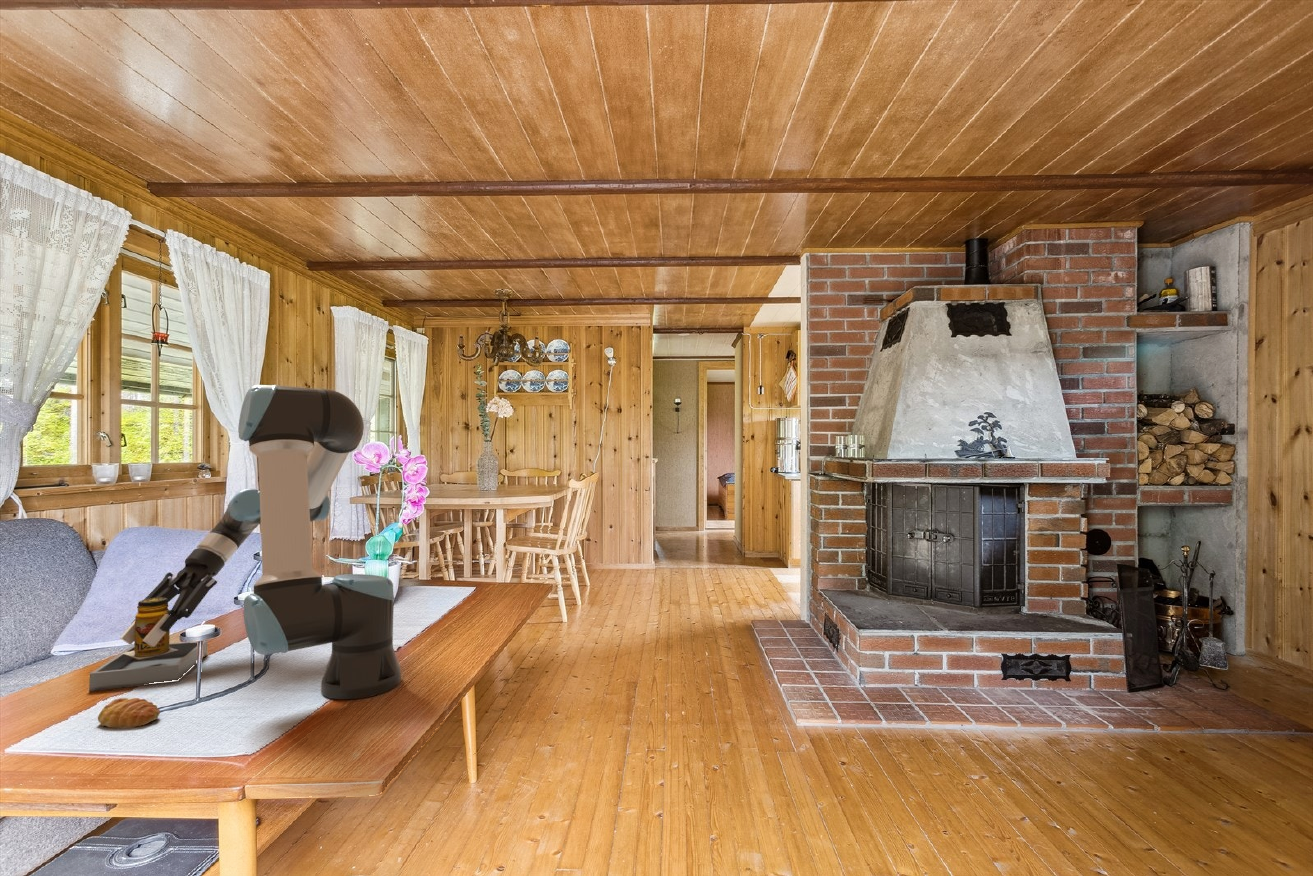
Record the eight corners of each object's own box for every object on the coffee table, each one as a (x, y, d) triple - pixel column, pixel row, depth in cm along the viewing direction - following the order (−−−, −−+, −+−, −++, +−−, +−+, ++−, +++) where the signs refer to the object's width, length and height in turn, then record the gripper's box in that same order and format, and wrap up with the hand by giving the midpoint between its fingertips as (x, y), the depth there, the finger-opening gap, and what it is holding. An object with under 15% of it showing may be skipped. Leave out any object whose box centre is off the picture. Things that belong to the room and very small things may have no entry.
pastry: (171, 716, 113) (172, 696, 113) (134, 733, 107) (134, 711, 107) (130, 712, 115) (130, 692, 115) (91, 728, 108) (91, 706, 108)
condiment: (139, 660, 131) (141, 604, 132) (121, 654, 135) (123, 600, 136) (179, 651, 138) (180, 598, 138) (160, 645, 142) (162, 593, 142)
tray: (177, 682, 130) (178, 665, 130) (89, 691, 125) (89, 673, 125) (207, 655, 148) (207, 640, 148) (130, 662, 142) (130, 646, 142)
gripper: (250, 567, 149) (181, 654, 133) (191, 563, 154) (117, 647, 138) (231, 548, 144) (157, 637, 128) (170, 545, 149) (91, 630, 133)
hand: (136, 642), depth 133 cm, fingers closed on condiment, 6 cm apart
